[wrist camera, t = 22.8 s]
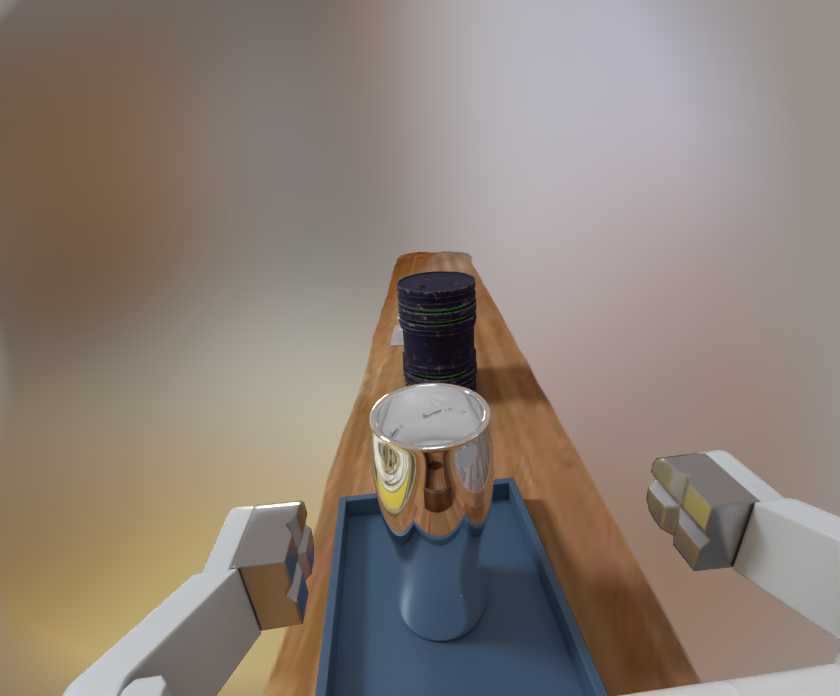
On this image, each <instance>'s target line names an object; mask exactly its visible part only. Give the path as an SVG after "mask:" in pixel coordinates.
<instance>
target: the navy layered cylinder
mask: <svg viewBox="0 0 840 696" xmlns="http://www.w3.org/2000/svg"><path fill="white" fill-rule="evenodd" d="M474 288H475V278H474V277H473V276H471V275H469V274H466V273H460V272H448V271H440V272H426V273H419V274H414V275H410V276H407V277H404V278H402V279H400V280H399V281H398V282H397V291H398V292H399V293H398V313H399V317H400V318H399V322H400V327H401V328H402V329H403V341H404V352H403V371H404V376H405V382H406V386H410V385H415V384H421V383H447V384H454V385H458V386H462V387H465V388H467V389H470V390H472V391H474V392H475V391H476V381H475V380H476V373H477V361H476V349H475V348H474V325H475V322H476V298H475V289H474Z"/></svg>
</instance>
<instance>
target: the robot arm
mask: <svg viewBox="0 0 840 696" xmlns="http://www.w3.org/2000/svg"><path fill="white" fill-rule="evenodd" d="M651 473H652V474H653V475H654V477H655V478H656V479H655V480H654V481H653V482H652V483H651V484H650V485H649V486H648V491H647V503H648V508H649V511H650V513H651V515H652V517H653V519H654V520H655V522H656V523H657V525H658V526H659V527H660V528H661V529H662V530H664V531H666V532H668V533H670V534H671V535H673V545H674V546H675V548H676V549H677V550H678V551H679V553H680V554H681V555H682V557H683V558H684V559H685V560H686V562H687V563H688V564H689V566H690V567H691V568H692V569H693V570H694V571H700V570H709V569H719V568H728V567H733V570H735V571H736V572H738V573H739V574H741V575H742V576H744V577H745V578H747V579H748V580H750V581H751V582H753V583H754V584H756V585H757V586H759V587H761V588H762V589H763V590H765V591H766V592H768V593H770V594H771V595H773V596H774V597H776V598H777V599H778V600H780V601H781V602H783V603H785V604H786V605H787V606H789V607H790V608H792V609H794V610H795V611H797V612H798V613H800V614H801V615H803V616H804V617H806V618H807V619H809V620H810V621H812V622H813V623H815V624H816V625H818V626H819V627H821V628H822V629H824V630H825V631H827V632H828V633H830V634H831V635H833V636H834V637H836V638H837V639H839V640H840V517H838V516H836V515H833V514H831V513H829V512H826V511H824V510H821V509H819V508H816V507H814V506H811V505H809V504H806V503H804V502H801V501H798V500H796V499H793V498H789V499H785V498H784V497H783V496H782V495H780V494H779V493H778V492H777V491H775V490H774V489H772V487H770V486H769V485H768V484H767V483H765V482H764V481H763V480H762V479H760V478H759V477H758V476H757V475H756V474H754V473H753V472H752V471H751V470H749V469H748V468H747V467H746V466H744V465H743V464H742V463H740V462H739V461H738V460H737V459H736V458H735V457H733V456H732V455H731V454H729V453H728V452H726V451H723V450H713V451H706V452H699V453H693V454H685V455H678V456H670V457H661V458H657V459H656V460H655V461H654V463H653V465H652V470H651ZM306 518H307V511H306V507H305V504H304V502H303V501H293V502H282V503H272V504H262V505H257V506H245V507H235V508H233V509H232V510H231V511H230V512H229V513H228V516H227V518H226V520H225V522H224V525H223V527H222V529H221V531H220V534H219V536H218V538H217V540H216V542H215V545H214V547H213V550H212V552H211V554H210V556H209V558H208V561H207V563H206V565H205V567H204V569H203V572H202V573H198V574H194V575H193V576H192V577H191V578H190V579H188V580H187V581H186V582H185V583H184V584H183V585H182V586H180V587H179V588H178V589H177V590H176V591H175V592H174V593H173V594H171V595H170V596H169V597H168V598H167V599H166V600H165V601H163V602H162V603H161V604H160V605H159V606H158V607H157V608H156V609H154V610H153V611H152V612H151V613H150V614H149V615H148V616H147V617H146V618H144V619H143V620H142V621H141V622H140V623H139V624H138V625H136V626H135V627H134V628H133V629H132V630H131V631H130V632H129V633H127V634H126V635H125V636H124V637H123V638H122V639H121V640H120V641H118V642H117V643H116V644H115V645H114V646H113V647H112V648H111V649H109V650H108V651H107V652H106V653H105V654H104V655H103V656H102V657H100V658H99V659H98V660H97V661H96V662H95V663H94V664H92V665H91V666H90V667H89V668H88V669H87V670H86V671H85V672H84V673H82V674H81V675H80V676H79V677H78V678H77V679H76V680H74V681H73V682H72V683H71V684H70V685H69V686H68V688H67V689H66V691H65V693H64V694H63V696H217V694H218V693H219V691H220V690H221V689H222V687H223V686H224V684H225V683H226V682H227V680H228V679H229V677H230V676H231V675H232V673H233V672H234V670H235V669H236V668H237V666H238V665H239V663H240V662H241V661H242V659H243V658H244V656H245V655H246V653H247V652H248V651H249V649H250V648H251V647H252V645H253V644H254V643H255V641H256V640H257V638H258V637H259V636H260V634H261V632H260V631H262V630H268V629H274V628H280V627H286V626H292V625H299V624H303V620H304V615H305V609H306V603H307V598H308V589H307V585H306V582H305V581H306V579H307V578H308V577H309V576H310V575H311V574H312V568H313V561H314V543H313V535H312V531H311V528H310V527H308V526H307V525H306V524H305V522H306ZM619 696H840V650H839V652H838V654H837V656H836V657H835V662H834V664H827V665H820V666H814V667H807V668H801V669H794V670H787V671H781V672H774V673H767V674H760V675H754V676H747V677H740V678H733V679H727V680H720V681H713V682H707V683H700V684H693V685H686V686H680V687H673V688H666V689H660V690H653V691H646V692H639V693H633V694H626V695H619Z"/></svg>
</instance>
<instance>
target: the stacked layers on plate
mask: <svg viewBox="0 0 840 696" xmlns="http://www.w3.org/2000/svg"><path fill="white" fill-rule="evenodd" d="M397 310H398V309H397ZM399 318H400V317H399V315H398V319H399ZM395 345H404V341H403V329H402V328H401V327H400V325H395V326H394V330H393V335H392V339H391V344H390V346H395Z"/></svg>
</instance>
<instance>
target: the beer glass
mask: <svg viewBox="0 0 840 696" xmlns="http://www.w3.org/2000/svg"><path fill="white" fill-rule="evenodd" d="M490 415H491V413H490V408H489V406H488V404H487V402H486V401H485V400H484V399H483V398H482V397H481V396H480V395H479V394H477V393H476V392H474V391H472V390H470V389H467V388H465V387H462V386H458V385H454V384H447V383H421V384H415V385H410V386H406V387H403V388H400V389H397V390H395V391H393V392H391V393H389V394H387V395H386V396H384V397H383V398H381V399H380V400H379V401H378V402H377V403H376V404H375V406H374V407H373V409H372V411H371V414H370V425H371V449H372V467H373V477H374V485H375V491H376V496H377V502H378V505H379V509H380V512H381V516H382V519H383V522H384V525H385V528H386V530H387V533H388V536H389V538H390V541H391V544H392V546H393V549H394V551H395V554H396V557H397V560H398V564H399V579H398V586H397V605H398V609H399V612H400V615H401V617H402V619H403V620H404V622H405V623H406V625H407V626H408V627H409V628H410V629H411V630H412V631H413V632H415V633H416V634H417V635H419V636H421V637H423V638H426V639H429V640H433V641H450V640H454V639H457V638H460V637H462V636H464V635H465V634H467V633H468V632H470V631H471V630H472V629H473V628H474V627H475V626H476V625H477V623H478V622H479V620H480V618H481V616H482V614H483V611H484V608H485V601H486V597H485V589H484V585H483V581H482V577H481V574H480V570H479V559H480V553H481V548H482V544H483V540H484V536H485V532H486V528H487V524H488V520H489V515H490V510H491V504H492V498H493V482H494V461H493V445H492V434H491V424H490Z"/></svg>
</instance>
